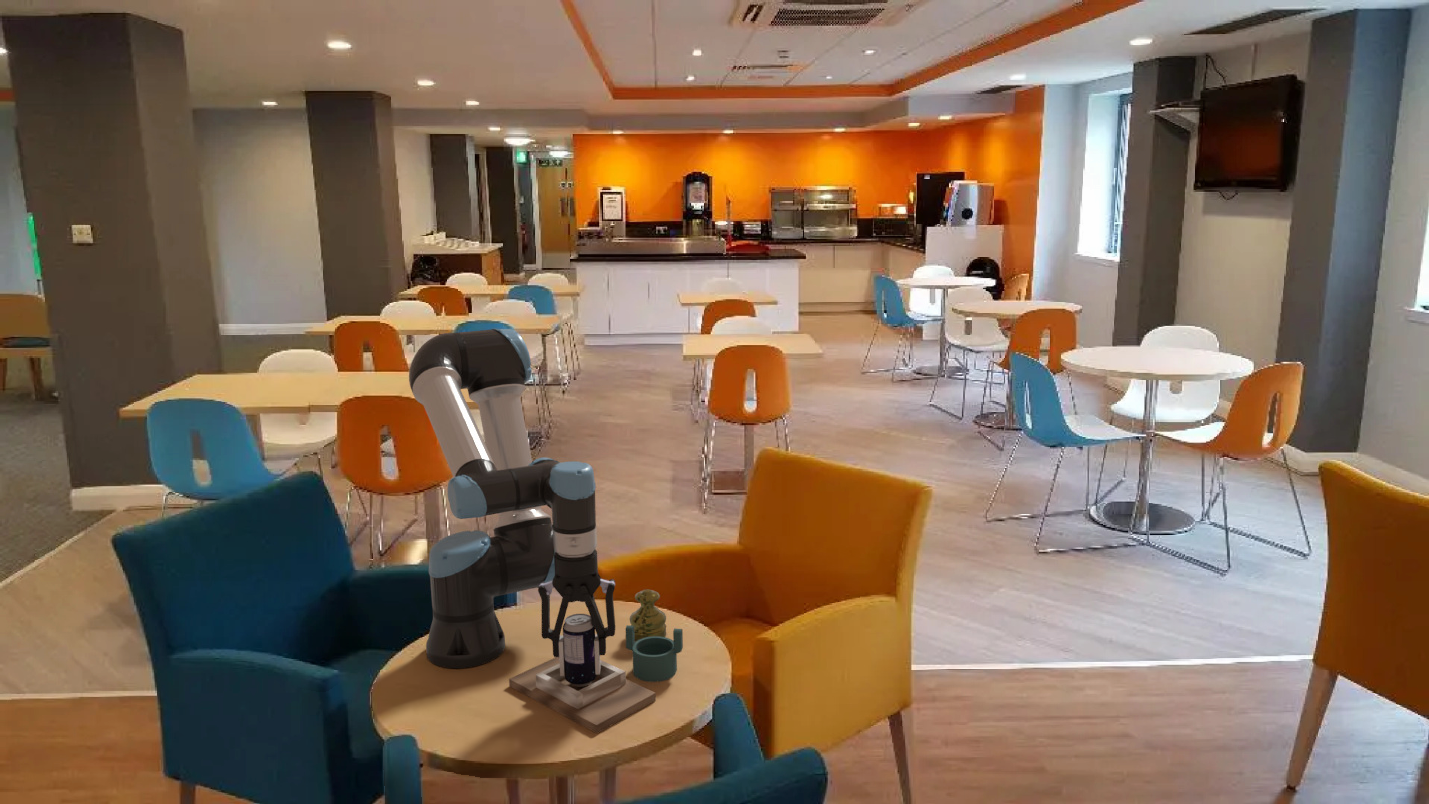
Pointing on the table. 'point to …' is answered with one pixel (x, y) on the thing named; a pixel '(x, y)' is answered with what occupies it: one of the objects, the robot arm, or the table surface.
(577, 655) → the beverage can
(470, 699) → the table surface
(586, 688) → the can holder
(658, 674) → the teal cauldron pot
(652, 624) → the brass calibration weight
